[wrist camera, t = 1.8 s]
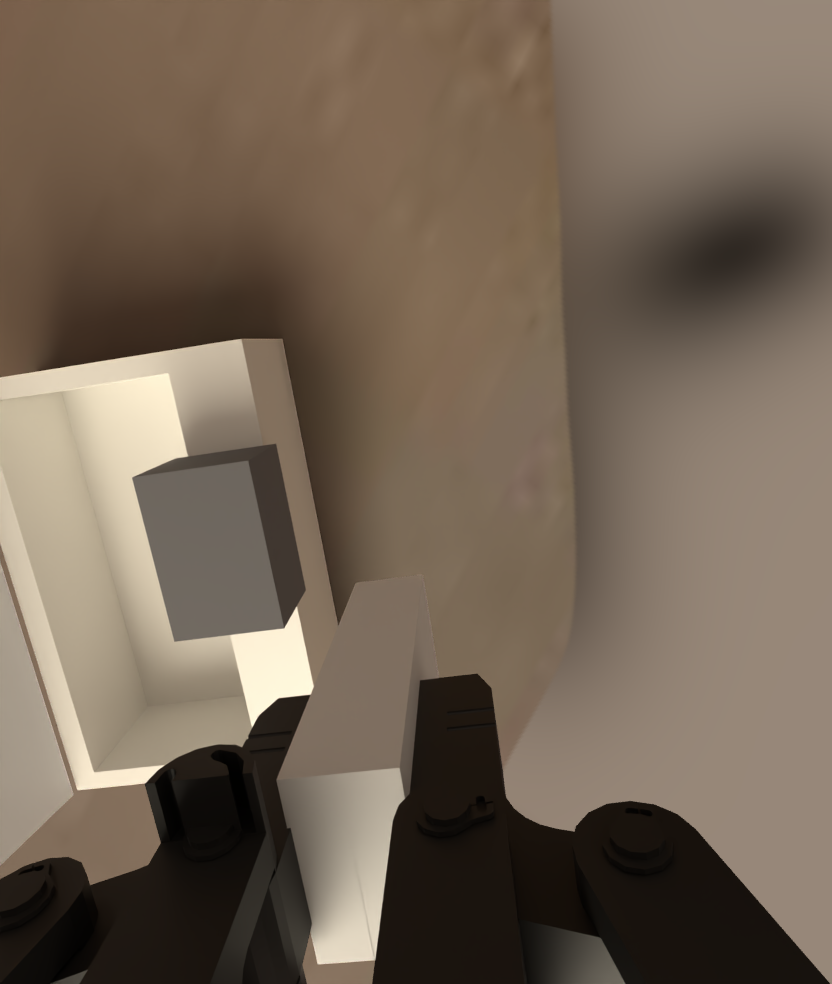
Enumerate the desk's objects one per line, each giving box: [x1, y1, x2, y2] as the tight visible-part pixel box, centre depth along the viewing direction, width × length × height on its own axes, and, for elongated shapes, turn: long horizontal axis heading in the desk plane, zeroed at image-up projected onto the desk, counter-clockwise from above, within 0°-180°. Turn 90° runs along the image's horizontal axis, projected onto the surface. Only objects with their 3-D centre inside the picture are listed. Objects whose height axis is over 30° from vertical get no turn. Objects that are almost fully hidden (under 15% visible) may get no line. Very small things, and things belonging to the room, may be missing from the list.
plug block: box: [132, 444, 306, 642], centre depth 23 cm, size 6×4×4 cm, turn 9°
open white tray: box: [0, 339, 338, 790], centre depth 29 cm, size 18×12×6 cm, turn 9°
